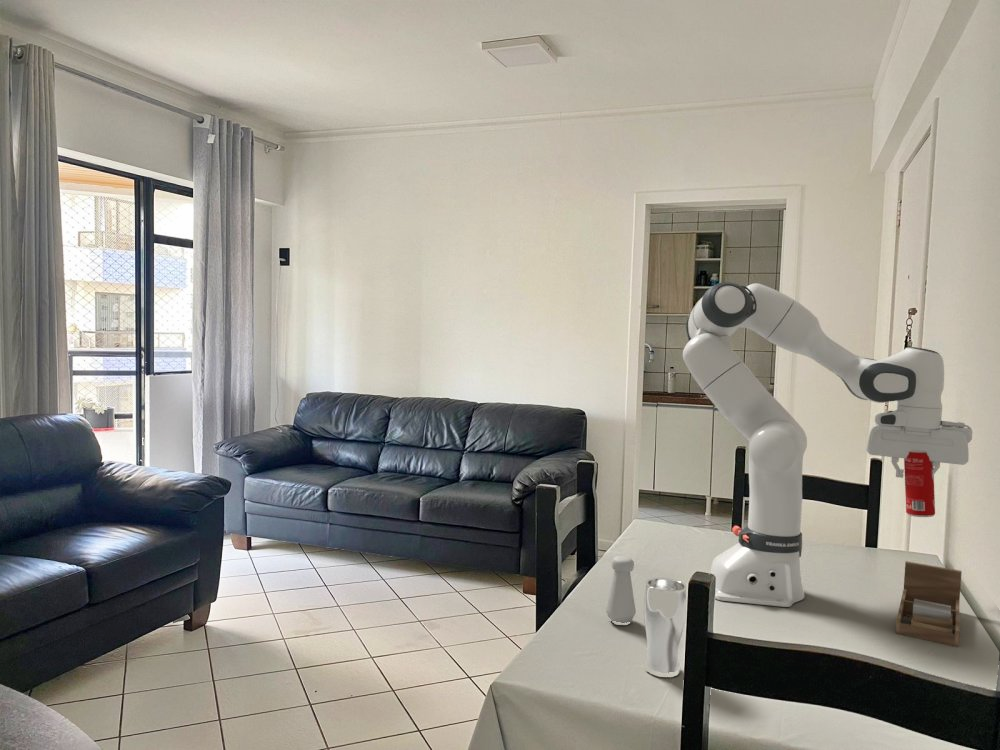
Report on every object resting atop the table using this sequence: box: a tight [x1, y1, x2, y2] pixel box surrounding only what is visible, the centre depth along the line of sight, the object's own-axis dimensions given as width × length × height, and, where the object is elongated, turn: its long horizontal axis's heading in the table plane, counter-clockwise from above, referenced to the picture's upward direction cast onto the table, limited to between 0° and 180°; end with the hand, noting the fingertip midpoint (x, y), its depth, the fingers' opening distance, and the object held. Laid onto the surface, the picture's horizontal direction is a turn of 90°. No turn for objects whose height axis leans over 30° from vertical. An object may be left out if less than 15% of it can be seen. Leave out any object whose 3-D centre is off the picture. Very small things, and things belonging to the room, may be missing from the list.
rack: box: [895, 560, 962, 647], centre depth 148 cm, size 21×10×9 cm, turn 147°
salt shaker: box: [605, 555, 637, 623], centre depth 143 cm, size 6×6×13 cm
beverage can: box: [903, 451, 936, 518], centre depth 165 cm, size 6×6×15 cm
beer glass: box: [643, 577, 687, 673], centre depth 123 cm, size 7×7×15 cm
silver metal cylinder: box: [910, 599, 953, 634], centre depth 145 cm, size 5×7×5 cm
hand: (914, 479), depth 165 cm, fingers closed on beverage can, 4 cm apart
